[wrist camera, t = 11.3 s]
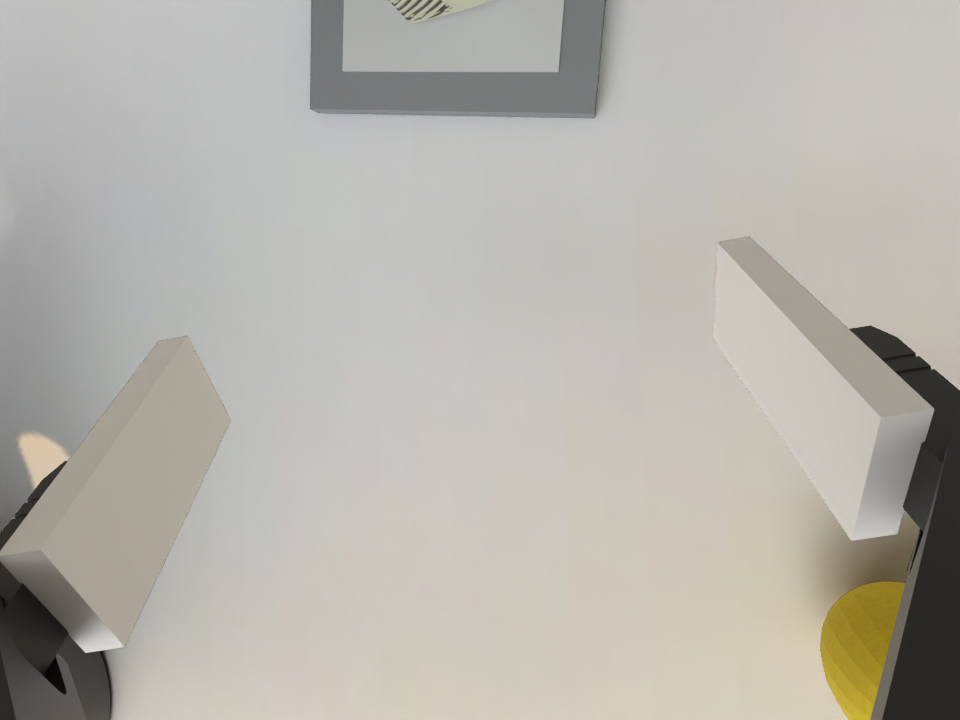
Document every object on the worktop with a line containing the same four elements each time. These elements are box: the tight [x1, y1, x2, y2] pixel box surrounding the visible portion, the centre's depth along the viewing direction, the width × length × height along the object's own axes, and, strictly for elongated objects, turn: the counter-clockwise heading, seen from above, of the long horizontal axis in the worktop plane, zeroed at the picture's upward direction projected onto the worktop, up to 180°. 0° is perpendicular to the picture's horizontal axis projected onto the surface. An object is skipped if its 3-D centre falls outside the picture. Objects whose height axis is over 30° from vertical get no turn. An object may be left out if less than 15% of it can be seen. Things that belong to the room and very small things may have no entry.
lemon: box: [820, 581, 905, 720], centre depth 22 cm, size 6×6×8 cm
